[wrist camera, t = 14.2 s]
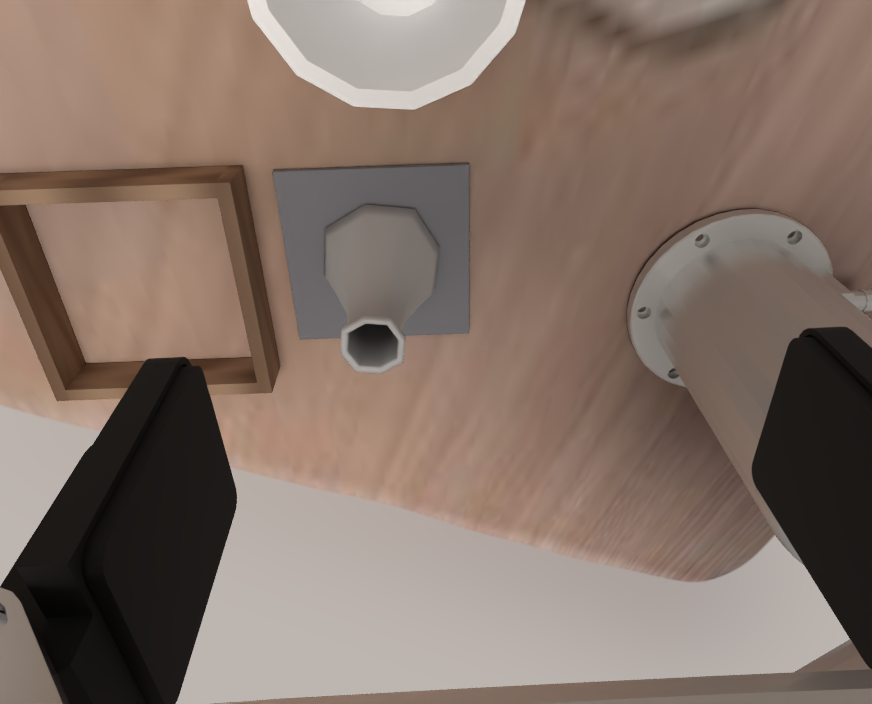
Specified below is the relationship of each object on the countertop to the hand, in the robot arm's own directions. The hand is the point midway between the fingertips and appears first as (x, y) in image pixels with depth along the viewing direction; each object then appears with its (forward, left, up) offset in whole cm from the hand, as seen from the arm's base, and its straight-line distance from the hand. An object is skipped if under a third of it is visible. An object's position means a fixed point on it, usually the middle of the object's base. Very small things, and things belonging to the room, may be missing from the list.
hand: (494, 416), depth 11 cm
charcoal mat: (+4, +10, -28) cm, 30 cm away
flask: (+4, +10, -28) cm, 30 cm away
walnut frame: (+18, +11, -28) cm, 35 cm away
